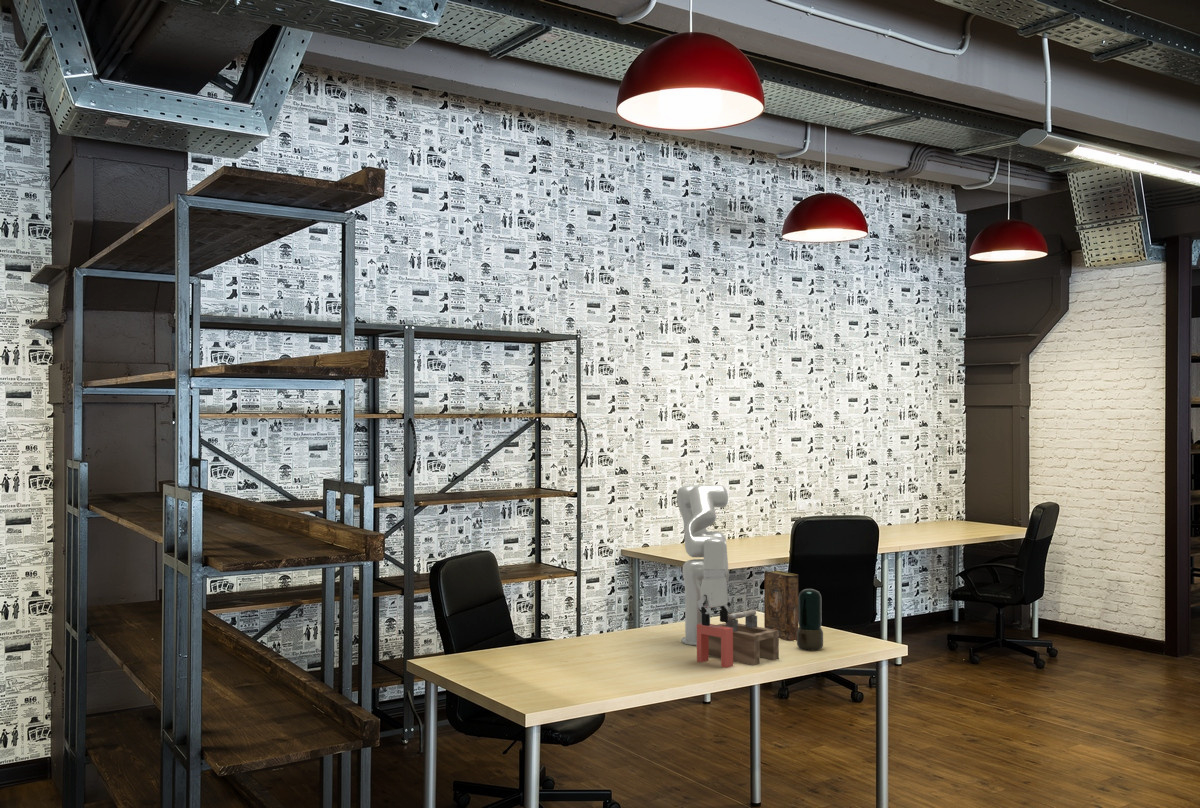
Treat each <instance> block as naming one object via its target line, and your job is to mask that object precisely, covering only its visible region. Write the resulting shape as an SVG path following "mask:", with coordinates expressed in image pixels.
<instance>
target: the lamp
mask: <svg viewBox="0 0 1200 808" xmlns="http://www.w3.org/2000/svg"><path fill="white" fill-rule="evenodd" d="M822 623H823V622H822V595H821V593H820V591H818V590H816V589H813V588H805V589H803V590H801V591H800V592H798V630H797V640H796V646H797V647H798V648H799V649H800V650H804V651H819V650H822V648H823V647H824V631H823V629H822Z"/></svg>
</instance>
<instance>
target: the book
mask: <svg viewBox="0 0 1200 808" xmlns="http://www.w3.org/2000/svg"><path fill="white" fill-rule="evenodd" d="M763 576H764V577H763V578H764V582H763V583H764V584H763V586H764V589H763V591H764V600H763V601H764V603H763V604H764V607H763V608H764V610H763V611H764V615H763V617H764V620H763V621H764V625H763V626H764V627H763V628H767V629H773V630H779V639H781V640H784V641H788V642H794V640H796V641H797V630H798V628H799V622H798V595H799V574H796V573H791V572H787V571H782V570H778V569H776V570H772V571H769V570H764V574H763Z"/></svg>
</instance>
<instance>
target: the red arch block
mask: <svg viewBox="0 0 1200 808" xmlns="http://www.w3.org/2000/svg"><path fill="white" fill-rule="evenodd" d="M709 635H711V636H716V637H721V658H720V667H721V668H725V669H727V668H731V667H733V666H734V661H733V628H730V627H725V626H719V625H718V624H714V623H710V626H705V625H702V623H700V624H697V645H696V662H697V663H698V662H699V663H705V662H708V661H710V659H709V658H710V656H709Z"/></svg>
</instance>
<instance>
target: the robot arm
mask: <svg viewBox="0 0 1200 808" xmlns="http://www.w3.org/2000/svg"><path fill="white" fill-rule="evenodd" d="M728 501H729V494H728V491H727V488H726V487H725V486H724V485H720V484H715V485H714V484H713V485H712V484H705V485H704V484H702V485H701V484H700V485H699V484H696V485H695V484H693V485H691V484H690V485H685V486H681V487H679V488H678V489H677V491H676V503H677V507H678V510H679V512H680V514H681V517H682V521H683V532H684V533H683V534H684V546H685V547H684V548H685V552H686V554H687V555H688V556H689V557H691V558H693V559H689V560H688V559H687V560H686V561H685V562H684V563H683V565H682V577H683V582H684V599H685V600H684V603H685V604H684V610H685V611H684V612H685V613H684V614H685V615H684V618H685V619H684V621H685V623H684V625H685V626H684V628H685V629H684V630H685V631H684V633H685V634H684V635H685V636H684V637H682V638H681V639H680V641H681V643H682V644H685V645H689V646H690V645H691V646H697V624H700V623H702V625H705V626H710V624H711V609H716V608H720V609H719V621H720V622H722V623H727V622H728V615H729V610H730V606H731V603H732V599H733V597H732V596H731V595H729V594H728V592H729V591H728V584H727V582H728V580H729V573H730V572H729V571H730V570H729V561H728V560H729V559H728V546H727V539H726V537H725V535H724V533H722V532H720V531H716V530H715V531H713V530H712V531H710V530H709V531H708V530H707V528H708V527H711V526H713V524H714V523H715V522H716V520H717V513H716V509H715V508H726V506H727V505H728V503H729V502H728Z"/></svg>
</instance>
